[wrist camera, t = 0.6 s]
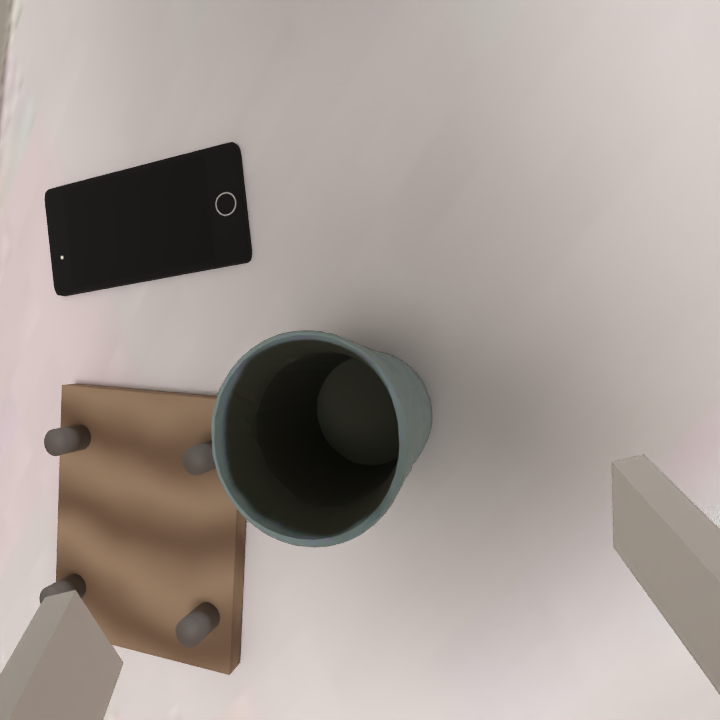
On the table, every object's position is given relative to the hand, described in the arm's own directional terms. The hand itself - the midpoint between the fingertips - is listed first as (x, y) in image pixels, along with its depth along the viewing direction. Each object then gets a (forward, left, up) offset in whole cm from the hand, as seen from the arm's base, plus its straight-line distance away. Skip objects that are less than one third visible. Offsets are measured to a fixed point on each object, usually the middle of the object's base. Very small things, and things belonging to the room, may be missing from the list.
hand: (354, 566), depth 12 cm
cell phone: (-14, -25, -23) cm, 36 cm away
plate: (+9, -23, -22) cm, 33 cm away
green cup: (-1, -6, -22) cm, 23 cm away
